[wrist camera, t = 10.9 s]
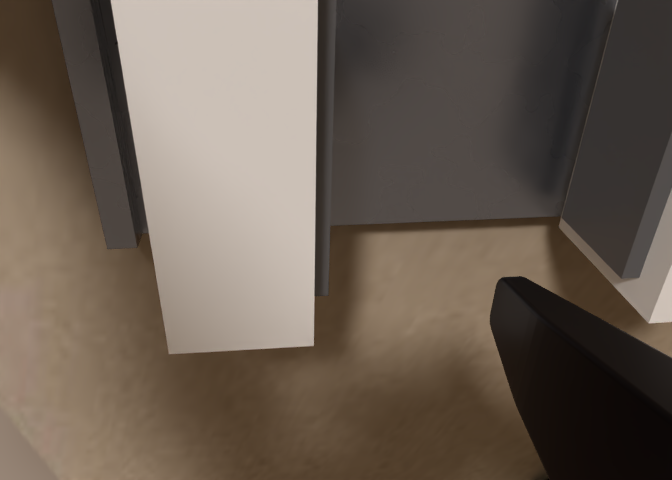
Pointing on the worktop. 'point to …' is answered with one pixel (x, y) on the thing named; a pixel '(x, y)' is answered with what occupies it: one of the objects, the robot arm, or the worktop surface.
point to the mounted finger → (629, 162)
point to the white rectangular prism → (233, 163)
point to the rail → (395, 108)
